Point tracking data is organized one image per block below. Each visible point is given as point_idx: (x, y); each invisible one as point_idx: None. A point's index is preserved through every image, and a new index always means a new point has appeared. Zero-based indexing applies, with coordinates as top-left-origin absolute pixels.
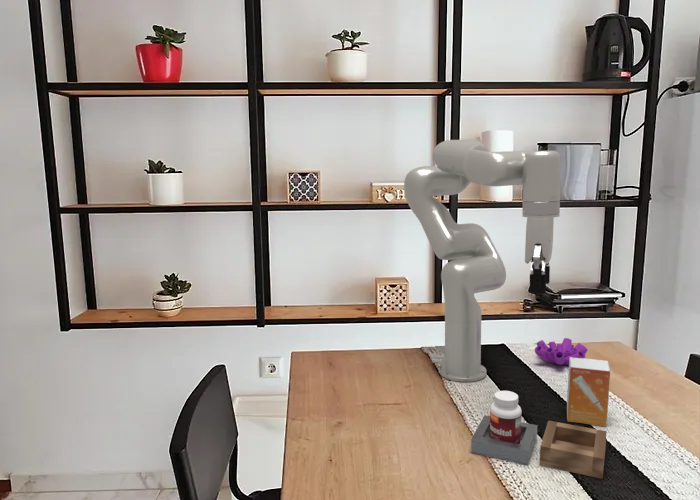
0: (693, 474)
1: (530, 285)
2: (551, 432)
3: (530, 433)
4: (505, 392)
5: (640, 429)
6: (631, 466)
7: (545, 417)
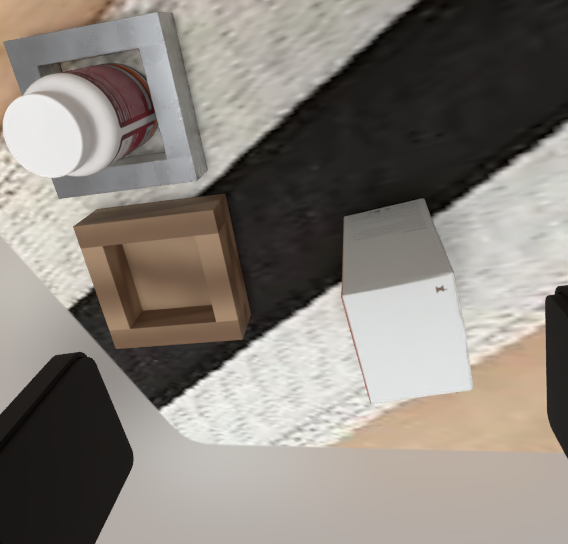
0: (253, 444)
1: (23, 402)
2: (153, 233)
3: (141, 178)
4: (61, 126)
5: None
6: (215, 361)
7: (342, 155)
